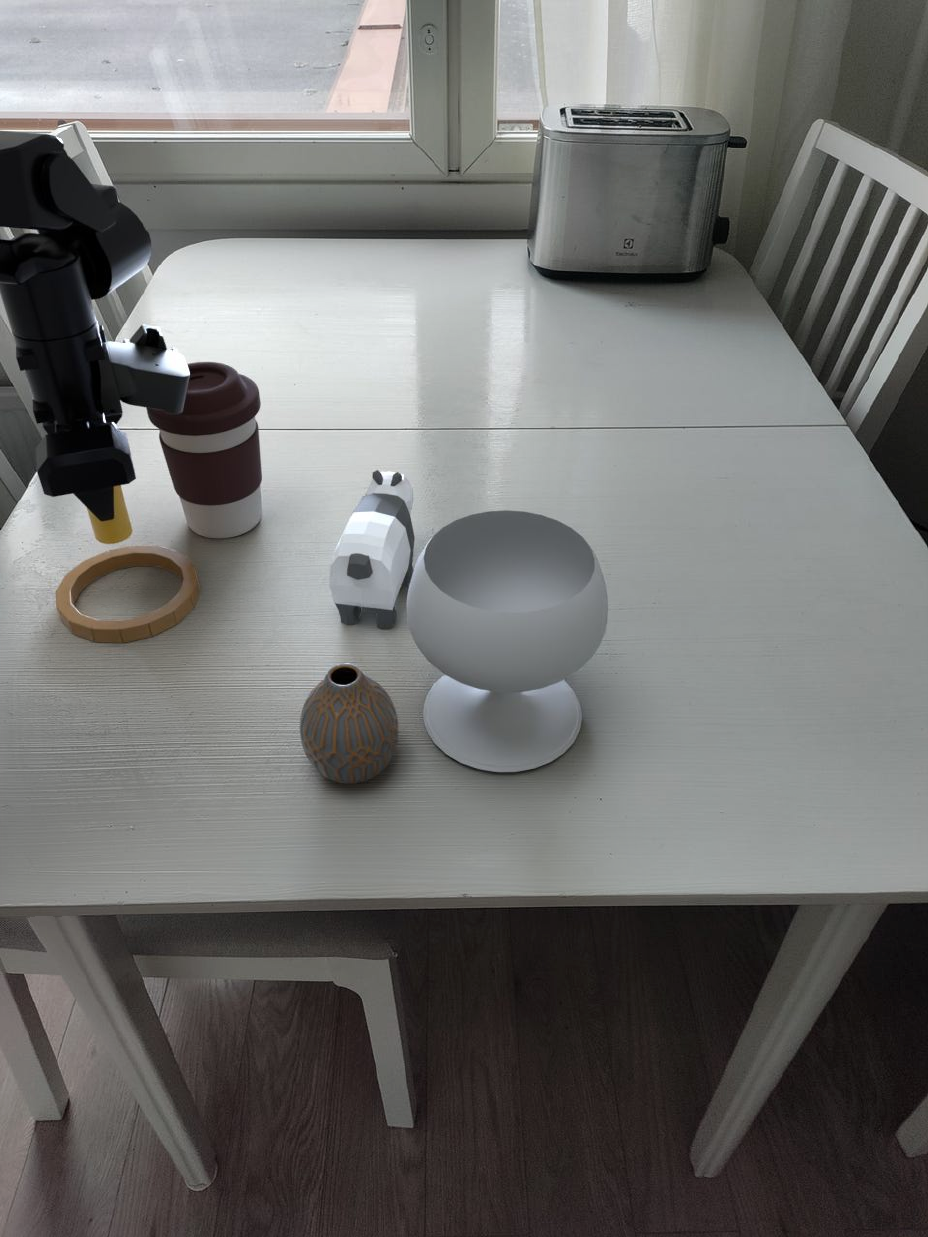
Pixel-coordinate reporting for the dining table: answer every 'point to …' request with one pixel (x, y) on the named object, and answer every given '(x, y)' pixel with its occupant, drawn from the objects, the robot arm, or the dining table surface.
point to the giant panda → (375, 551)
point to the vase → (348, 726)
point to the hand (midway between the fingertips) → (105, 509)
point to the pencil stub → (113, 522)
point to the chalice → (506, 635)
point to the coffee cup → (215, 451)
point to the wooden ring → (134, 626)
